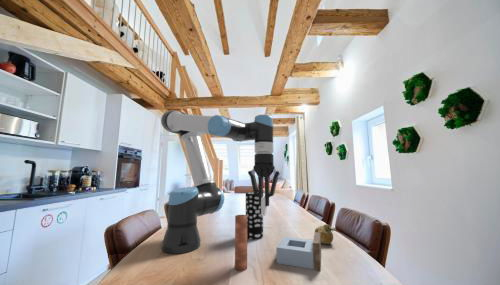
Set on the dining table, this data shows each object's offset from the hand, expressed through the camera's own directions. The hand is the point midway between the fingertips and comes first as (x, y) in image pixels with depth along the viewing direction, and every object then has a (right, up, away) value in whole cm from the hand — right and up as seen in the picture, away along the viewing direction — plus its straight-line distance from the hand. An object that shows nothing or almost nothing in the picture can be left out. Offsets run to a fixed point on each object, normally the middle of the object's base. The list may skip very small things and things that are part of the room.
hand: (264, 214), depth 77 cm
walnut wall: (+18, -13, -9) cm, 24 cm away
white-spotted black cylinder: (-3, -17, +17) cm, 24 cm away
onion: (+27, -16, +9) cm, 32 cm away
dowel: (-8, -12, -13) cm, 20 cm away
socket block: (+11, -13, -6) cm, 18 cm away
